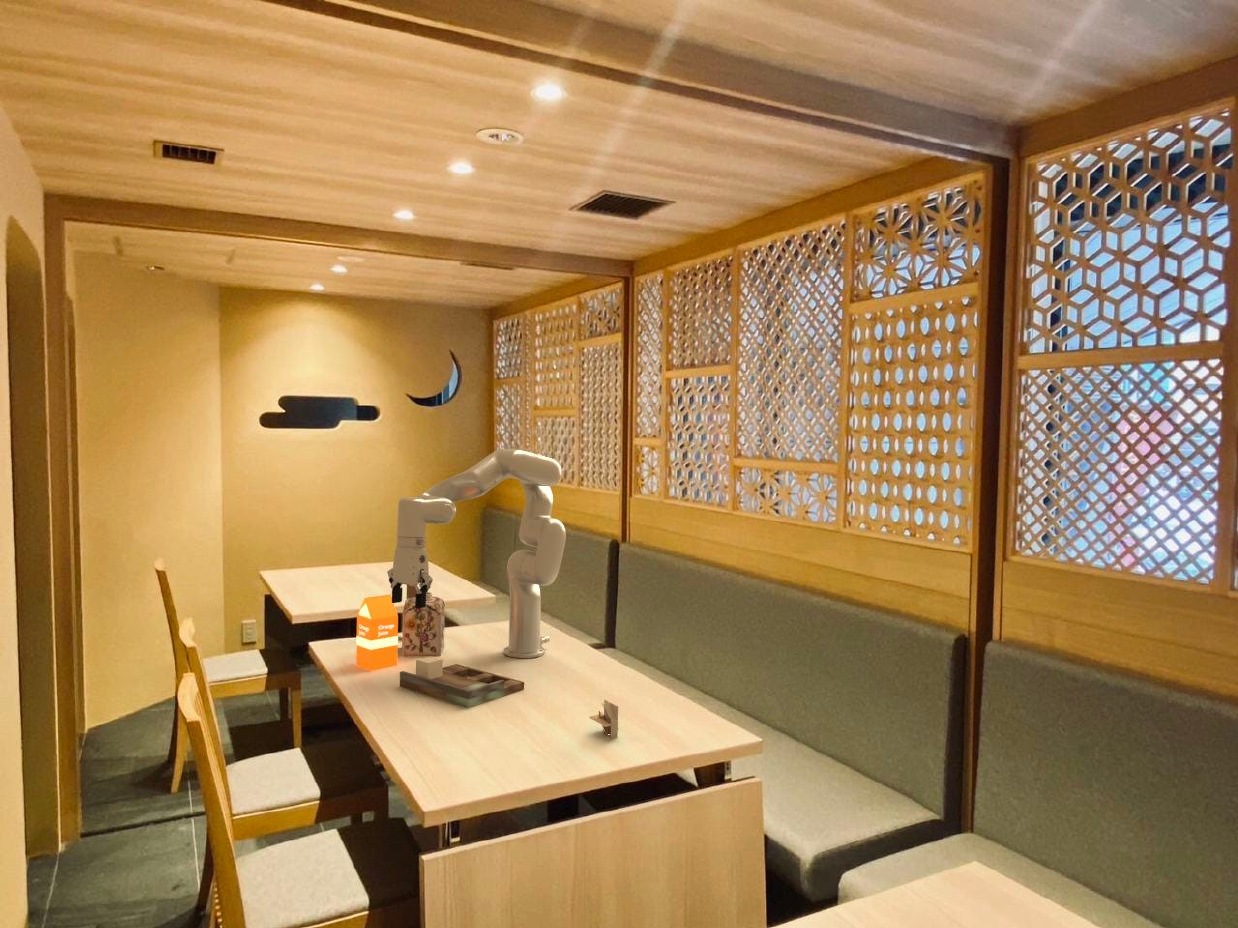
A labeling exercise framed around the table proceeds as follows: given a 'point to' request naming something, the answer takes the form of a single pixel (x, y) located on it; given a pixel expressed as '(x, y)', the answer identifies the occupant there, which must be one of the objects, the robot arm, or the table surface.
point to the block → (429, 667)
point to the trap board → (462, 685)
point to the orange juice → (377, 633)
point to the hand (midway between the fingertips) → (408, 605)
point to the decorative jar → (423, 627)
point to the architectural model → (608, 718)
